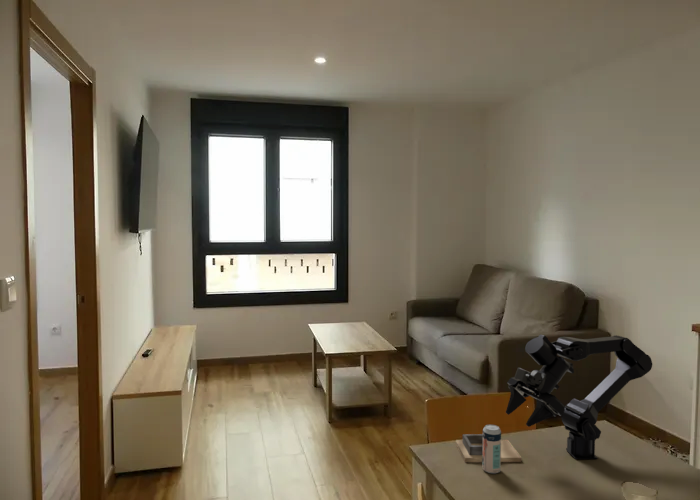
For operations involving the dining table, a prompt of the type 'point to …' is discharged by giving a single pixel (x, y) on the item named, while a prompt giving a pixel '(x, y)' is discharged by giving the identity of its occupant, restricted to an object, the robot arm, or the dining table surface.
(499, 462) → the beer can
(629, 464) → the dining table surface
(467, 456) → the seat board
